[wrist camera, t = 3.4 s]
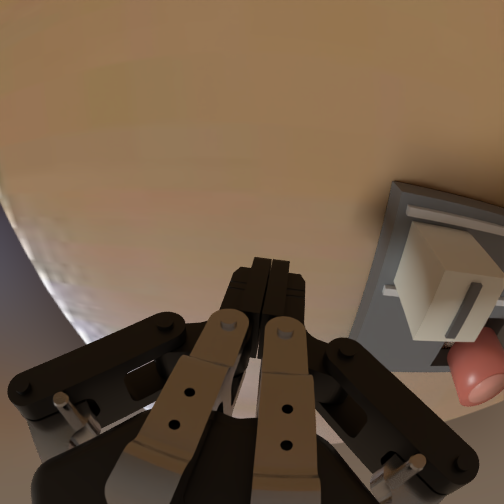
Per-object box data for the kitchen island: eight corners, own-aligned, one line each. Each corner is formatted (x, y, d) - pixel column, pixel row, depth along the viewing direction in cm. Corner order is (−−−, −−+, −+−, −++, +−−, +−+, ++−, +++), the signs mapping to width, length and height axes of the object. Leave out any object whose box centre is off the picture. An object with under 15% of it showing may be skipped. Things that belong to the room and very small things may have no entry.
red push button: (504, 327, 16) (524, 365, 13) (478, 367, 19) (491, 404, 15) (463, 326, 17) (482, 369, 13) (437, 368, 19) (449, 410, 16)
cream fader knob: (468, 231, 14) (510, 281, 10) (446, 287, 16) (475, 344, 12) (412, 220, 15) (446, 272, 10) (393, 281, 17) (414, 343, 12)
